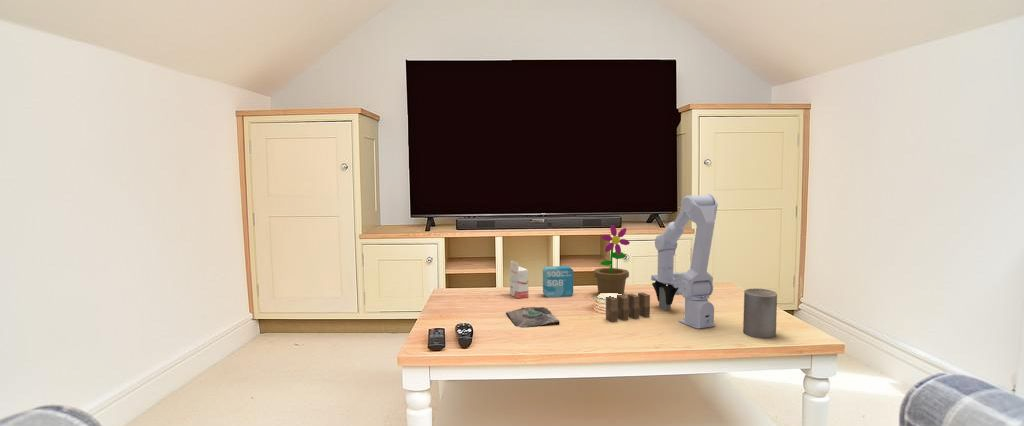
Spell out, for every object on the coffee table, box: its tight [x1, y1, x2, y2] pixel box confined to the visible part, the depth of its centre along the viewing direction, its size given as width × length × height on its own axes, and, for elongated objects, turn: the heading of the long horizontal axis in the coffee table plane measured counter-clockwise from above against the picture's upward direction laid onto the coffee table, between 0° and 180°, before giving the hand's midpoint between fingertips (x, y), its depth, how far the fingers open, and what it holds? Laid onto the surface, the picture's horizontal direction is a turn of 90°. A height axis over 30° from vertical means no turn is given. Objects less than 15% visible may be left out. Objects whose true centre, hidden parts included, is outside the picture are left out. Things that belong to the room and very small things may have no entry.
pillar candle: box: [742, 288, 778, 339], centre depth 175 cm, size 10×10×15 cm
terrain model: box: [505, 306, 560, 329], centre depth 195 cm, size 20×15×3 cm
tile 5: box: [605, 296, 619, 323], centre depth 191 cm, size 4×2×8 cm, turn 22°
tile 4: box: [617, 295, 629, 322], centre depth 193 cm, size 4×2×8 cm, turn 23°
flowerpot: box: [593, 224, 631, 296], centre depth 225 cm, size 14×14×30 cm
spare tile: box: [658, 287, 672, 312], centre depth 205 cm, size 4×2×8 cm, turn 22°
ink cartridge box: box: [509, 260, 529, 299], centre depth 226 cm, size 9×5×15 cm, turn 25°
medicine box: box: [673, 271, 687, 295], centre depth 229 cm, size 8×4×9 cm, turn 84°
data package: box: [542, 265, 574, 298], centre depth 226 cm, size 12×4×12 cm, turn 99°
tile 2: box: [637, 292, 651, 319], centre depth 196 cm, size 4×2×8 cm, turn 22°
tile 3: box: [626, 293, 640, 320], centre depth 195 cm, size 4×2×8 cm, turn 22°
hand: (664, 302), depth 205 cm, fingers closed on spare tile, 4 cm apart
